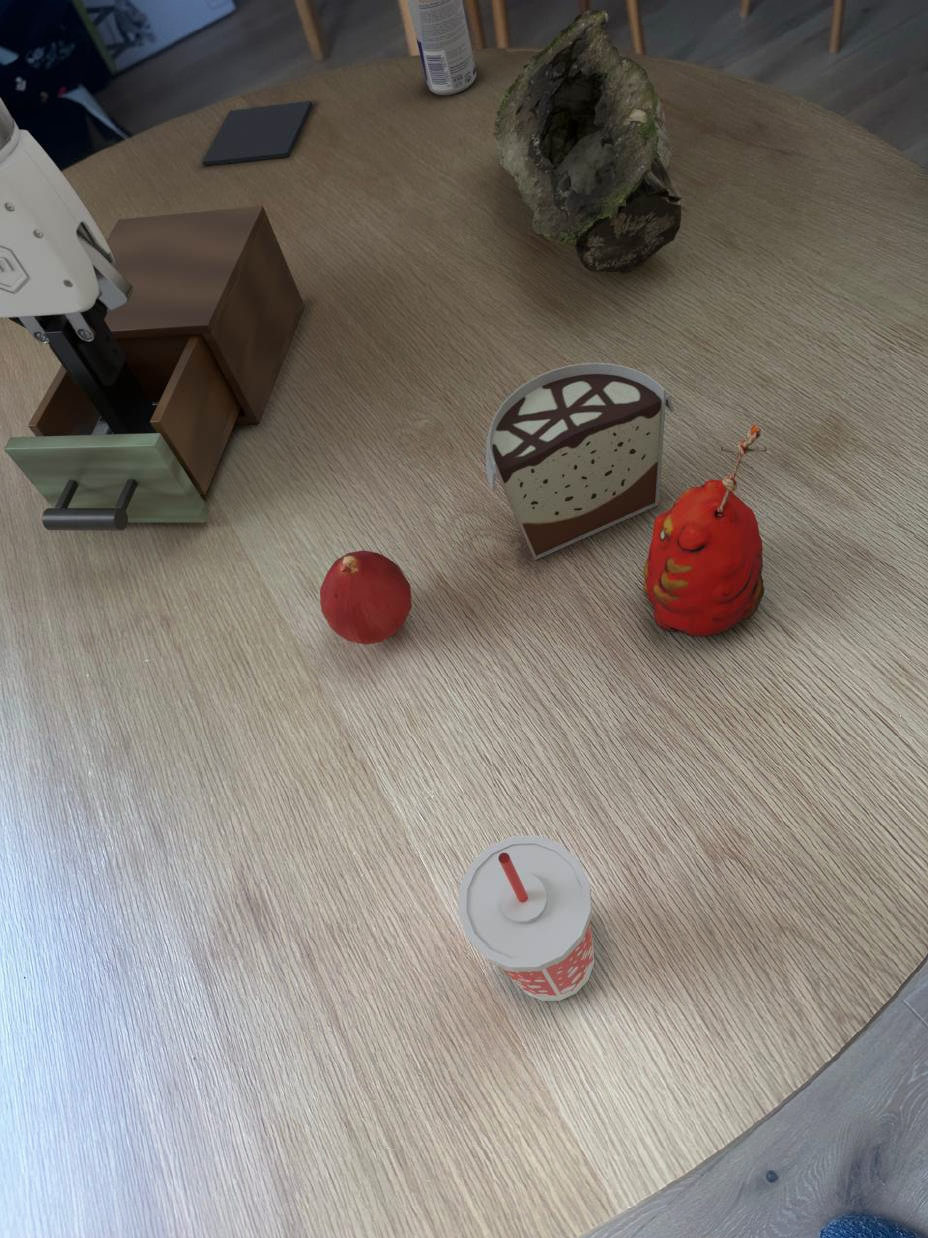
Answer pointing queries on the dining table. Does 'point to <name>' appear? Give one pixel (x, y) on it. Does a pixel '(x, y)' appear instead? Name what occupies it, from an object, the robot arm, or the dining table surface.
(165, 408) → the drawer
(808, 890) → the dining table surface
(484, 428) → the dining table surface
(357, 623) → the onion
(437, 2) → the energy drink
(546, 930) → the beverage cup
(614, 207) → the mossy hollow log
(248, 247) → the cabinet
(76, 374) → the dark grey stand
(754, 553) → the red clay folk toy
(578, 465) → the food container
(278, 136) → the desk mat
